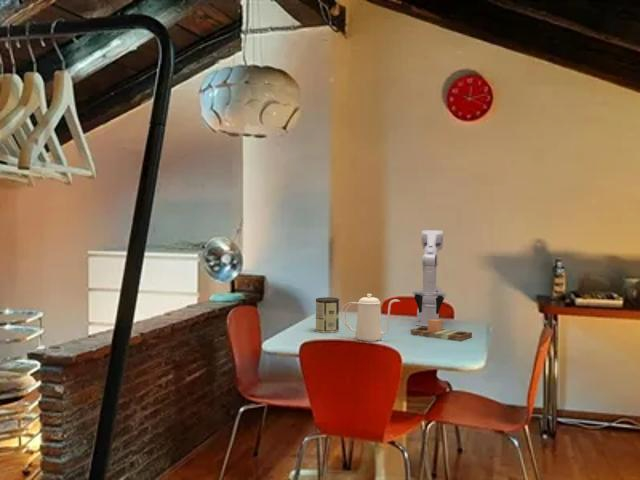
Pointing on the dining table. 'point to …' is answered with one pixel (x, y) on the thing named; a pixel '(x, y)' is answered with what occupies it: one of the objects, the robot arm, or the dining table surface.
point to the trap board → (442, 334)
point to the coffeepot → (369, 319)
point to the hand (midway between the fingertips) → (428, 313)
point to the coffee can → (327, 315)
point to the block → (434, 325)
